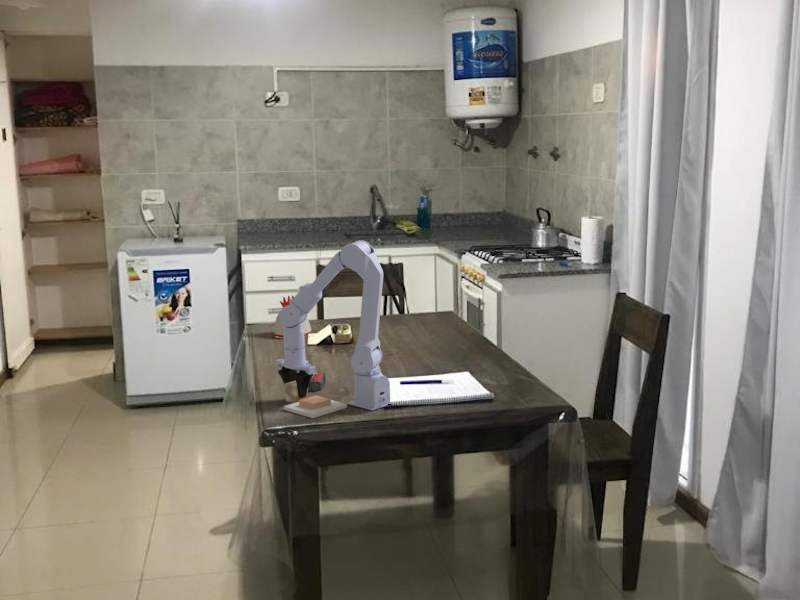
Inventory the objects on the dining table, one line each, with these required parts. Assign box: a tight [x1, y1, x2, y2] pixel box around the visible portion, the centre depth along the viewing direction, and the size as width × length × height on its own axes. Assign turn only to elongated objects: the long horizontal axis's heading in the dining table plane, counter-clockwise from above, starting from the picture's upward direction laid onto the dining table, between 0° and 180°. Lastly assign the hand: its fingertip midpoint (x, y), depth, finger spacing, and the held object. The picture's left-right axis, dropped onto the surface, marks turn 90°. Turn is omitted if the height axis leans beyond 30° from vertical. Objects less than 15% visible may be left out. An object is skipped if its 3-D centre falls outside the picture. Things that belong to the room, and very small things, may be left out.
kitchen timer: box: [273, 295, 312, 337], centre depth 342 cm, size 14×14×15 cm
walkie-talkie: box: [295, 370, 326, 392], centre depth 269 cm, size 9×4×20 cm
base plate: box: [282, 395, 348, 419], centre depth 248 cm, size 12×12×2 cm
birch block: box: [284, 381, 309, 404], centre depth 257 cm, size 4×4×5 cm
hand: (296, 395), depth 257 cm, fingers closed on birch block, 4 cm apart
